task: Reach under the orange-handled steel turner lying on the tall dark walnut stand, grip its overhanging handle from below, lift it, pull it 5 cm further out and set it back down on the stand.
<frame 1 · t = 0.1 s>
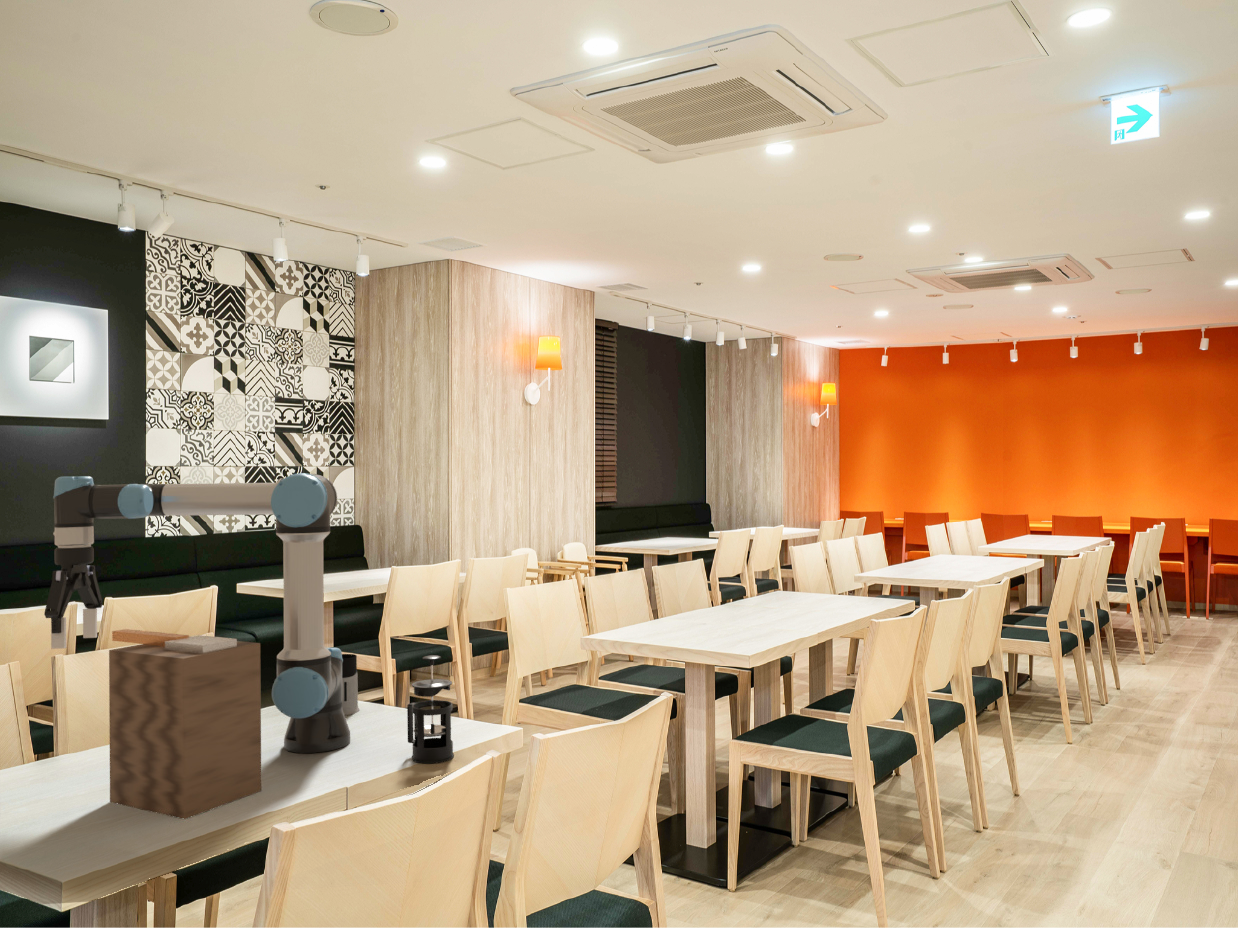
hand: (75, 642, 210), 28 cm above the table, tool pointing down, fingers open, 13 cm apart
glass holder: (340, 714, 257), on the table
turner: (156, 643, 196), point 30 cm above the table, touching walnut stand
walnut stand: (186, 796, 191), on the table
french press: (431, 758, 216), on the table
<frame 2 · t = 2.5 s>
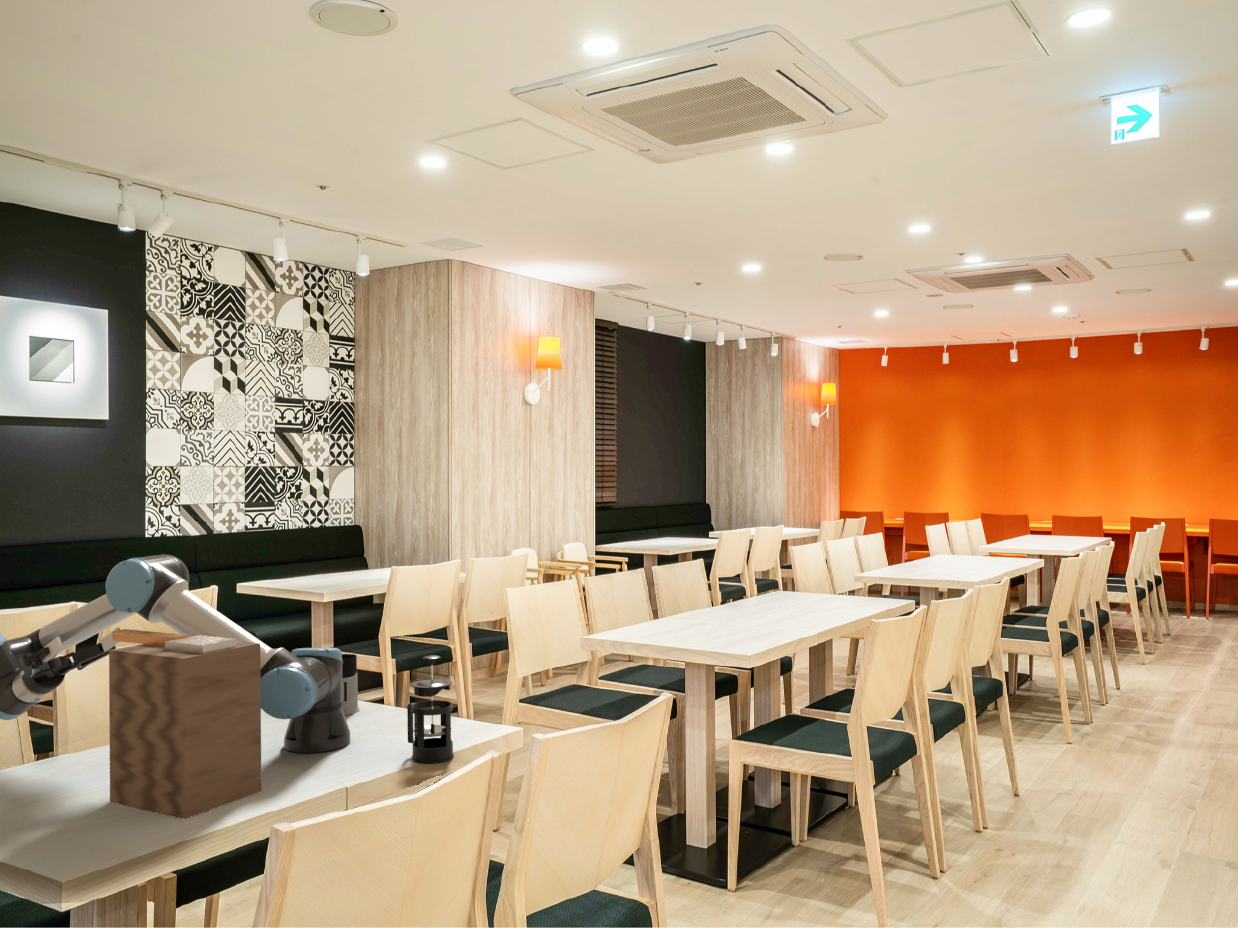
hand: (90, 637, 206), 30 cm above the table, tool pointing upward, fingers open, 13 cm apart
nothing on the table moved.
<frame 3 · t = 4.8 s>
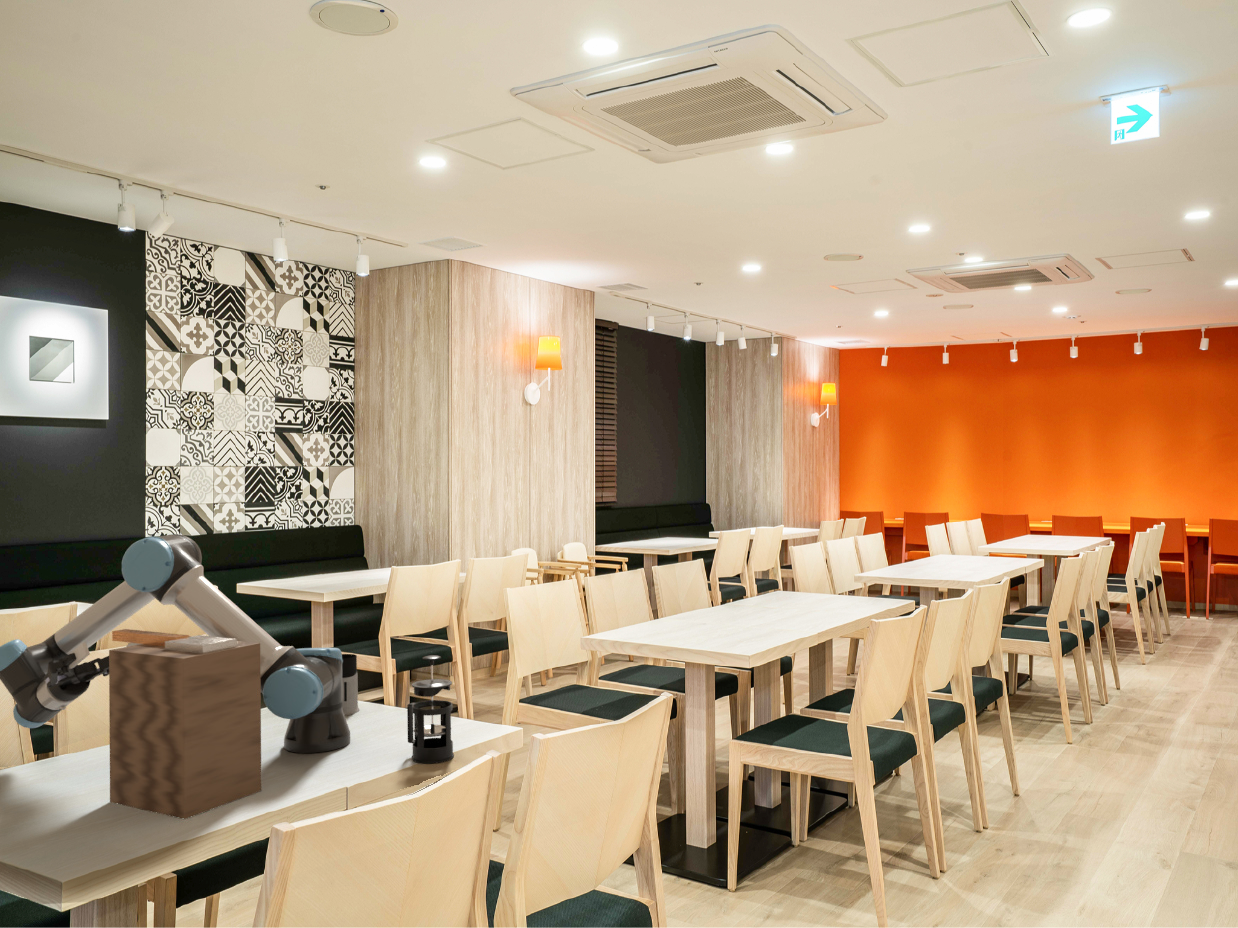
hand: (117, 642, 201), 29 cm above the table, tool pointing upward, fingers open, 13 cm apart
nothing on the table moved.
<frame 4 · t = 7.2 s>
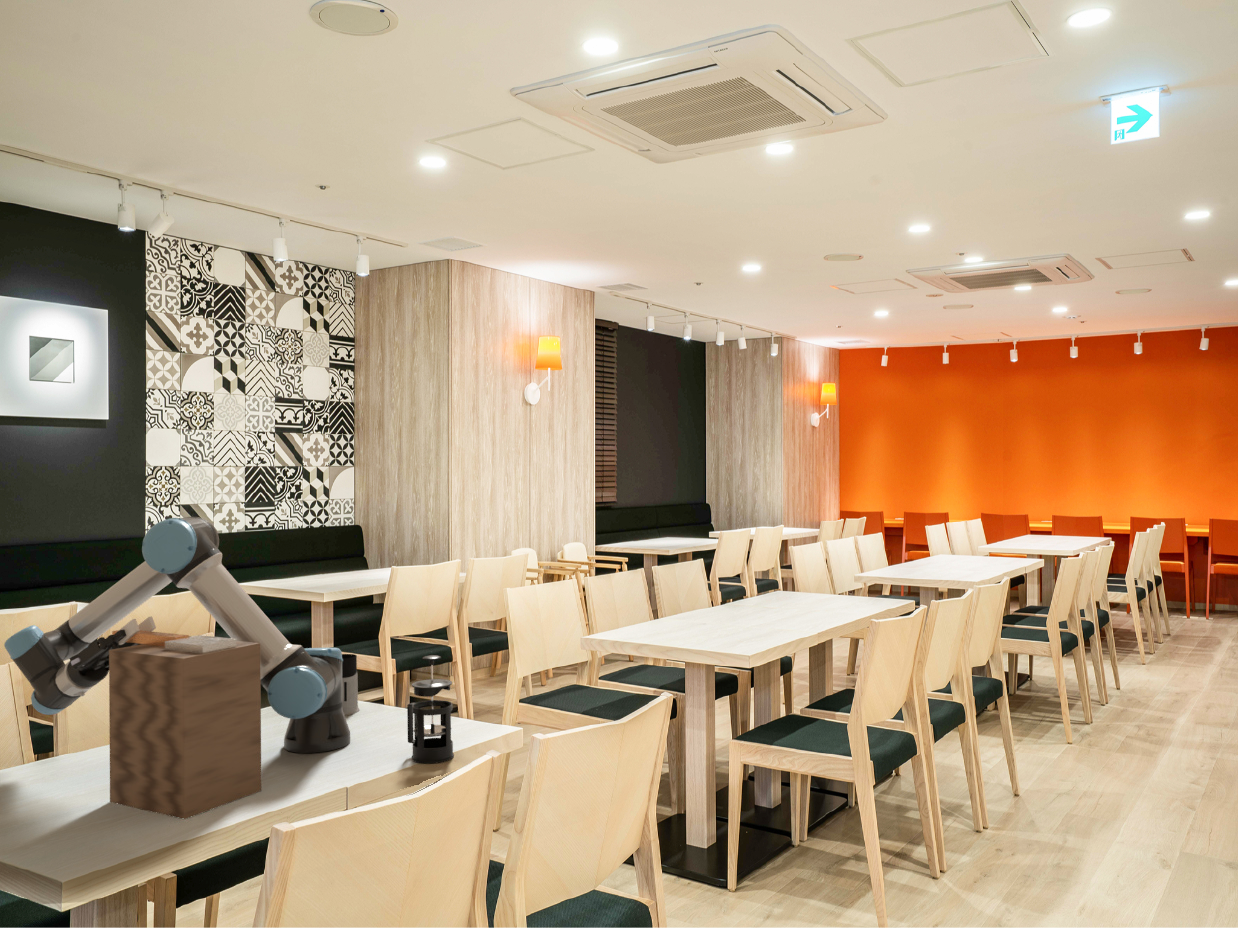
hand: (144, 623, 198), 34 cm above the table, tool pointing upward, fingers closed on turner, 3 cm apart
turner: (156, 643, 196), point 30 cm above the table, touching gripper
everything else where it was.
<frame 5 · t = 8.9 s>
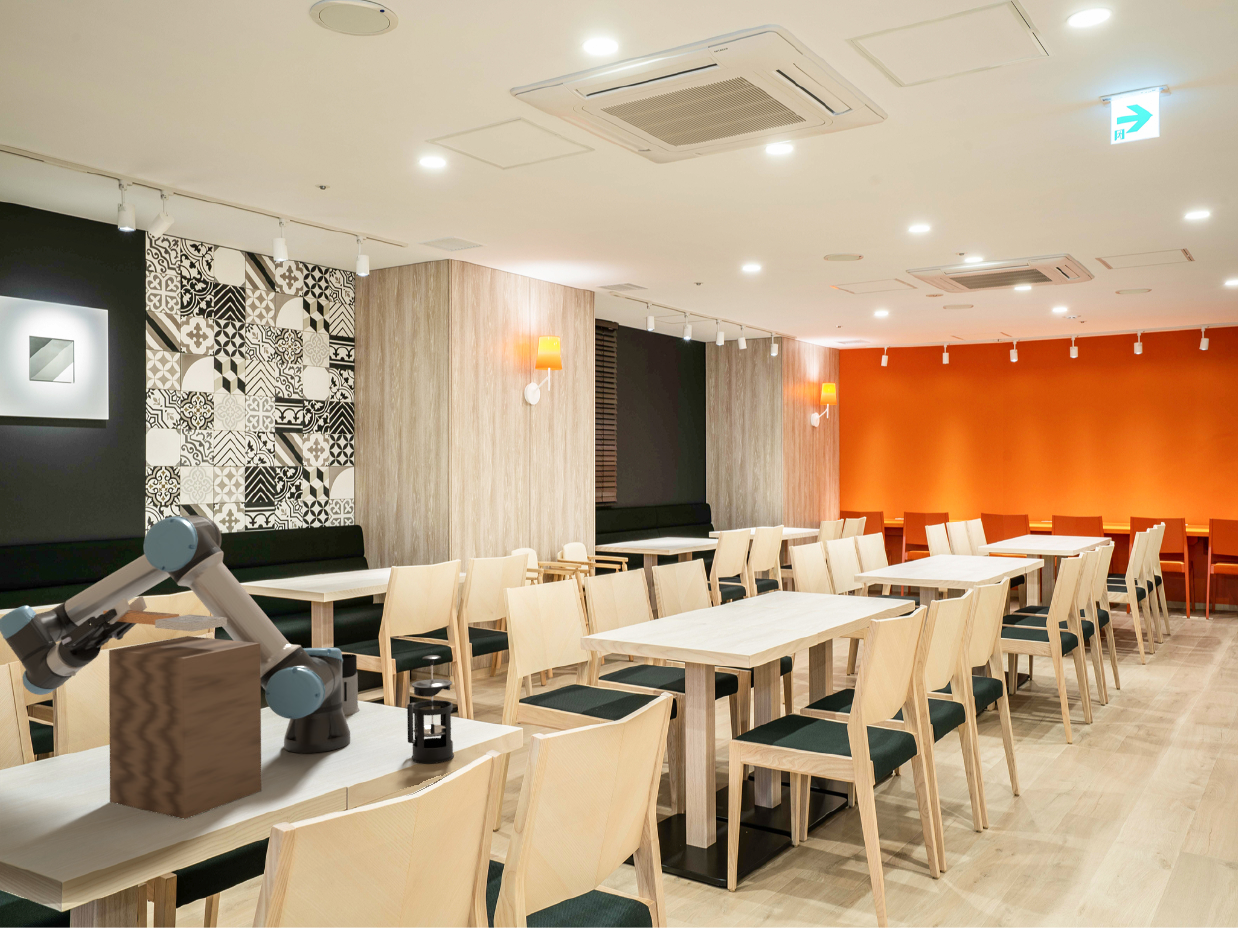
hand: (135, 603, 199), 38 cm above the table, tool pointing upward, fingers closed on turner, 3 cm apart
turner: (147, 622, 197), point 34 cm above the table, touching gripper
everything else where it was.
when the fingers open (34 cm above the table, at t = 10.6 s): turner stays where it is, resting on walnut stand.
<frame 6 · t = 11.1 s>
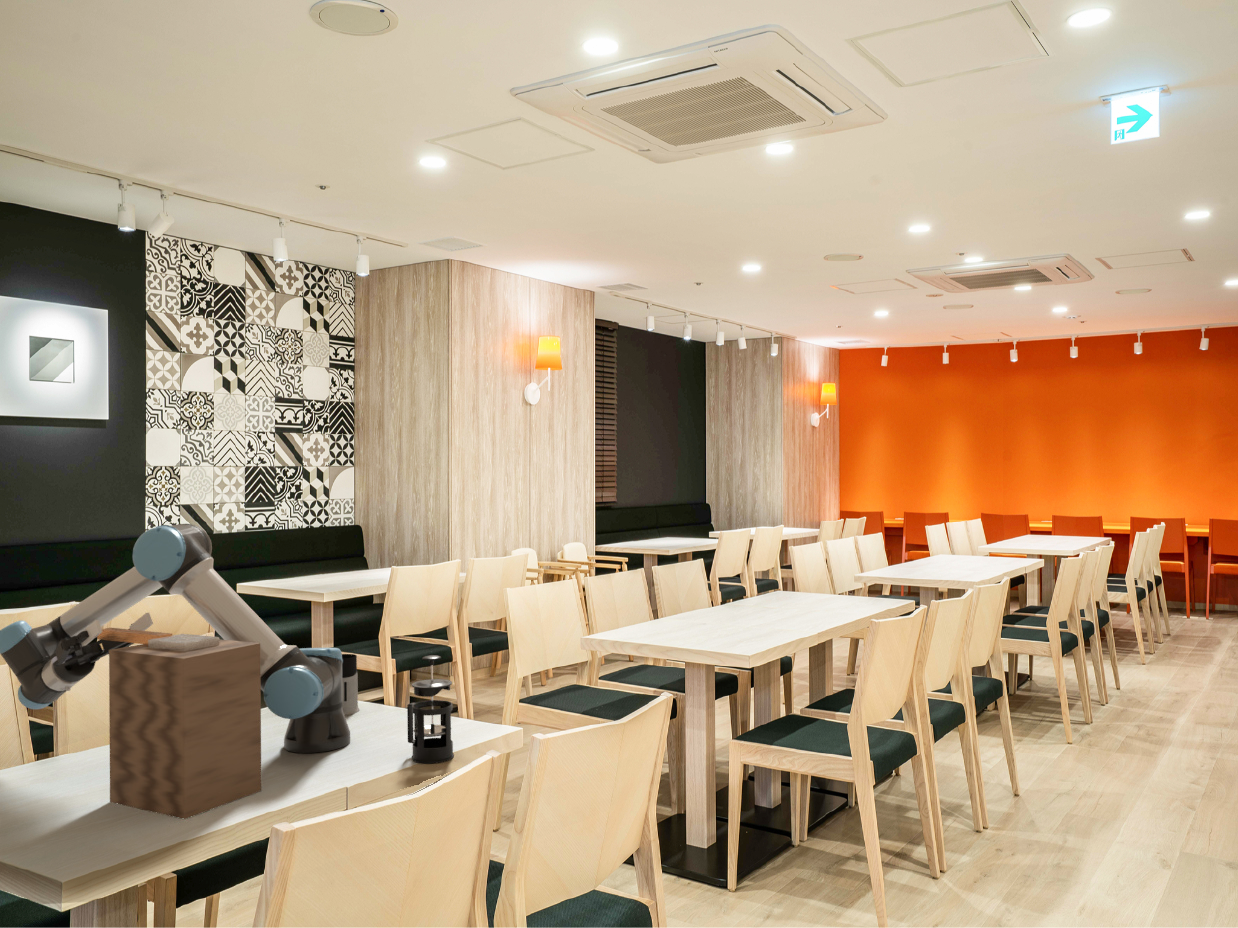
hand: (124, 622, 201), 34 cm above the table, tool pointing upward, fingers open, 11 cm apart
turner: (140, 641, 198), point 30 cm above the table, touching walnut stand
everything else where it was.
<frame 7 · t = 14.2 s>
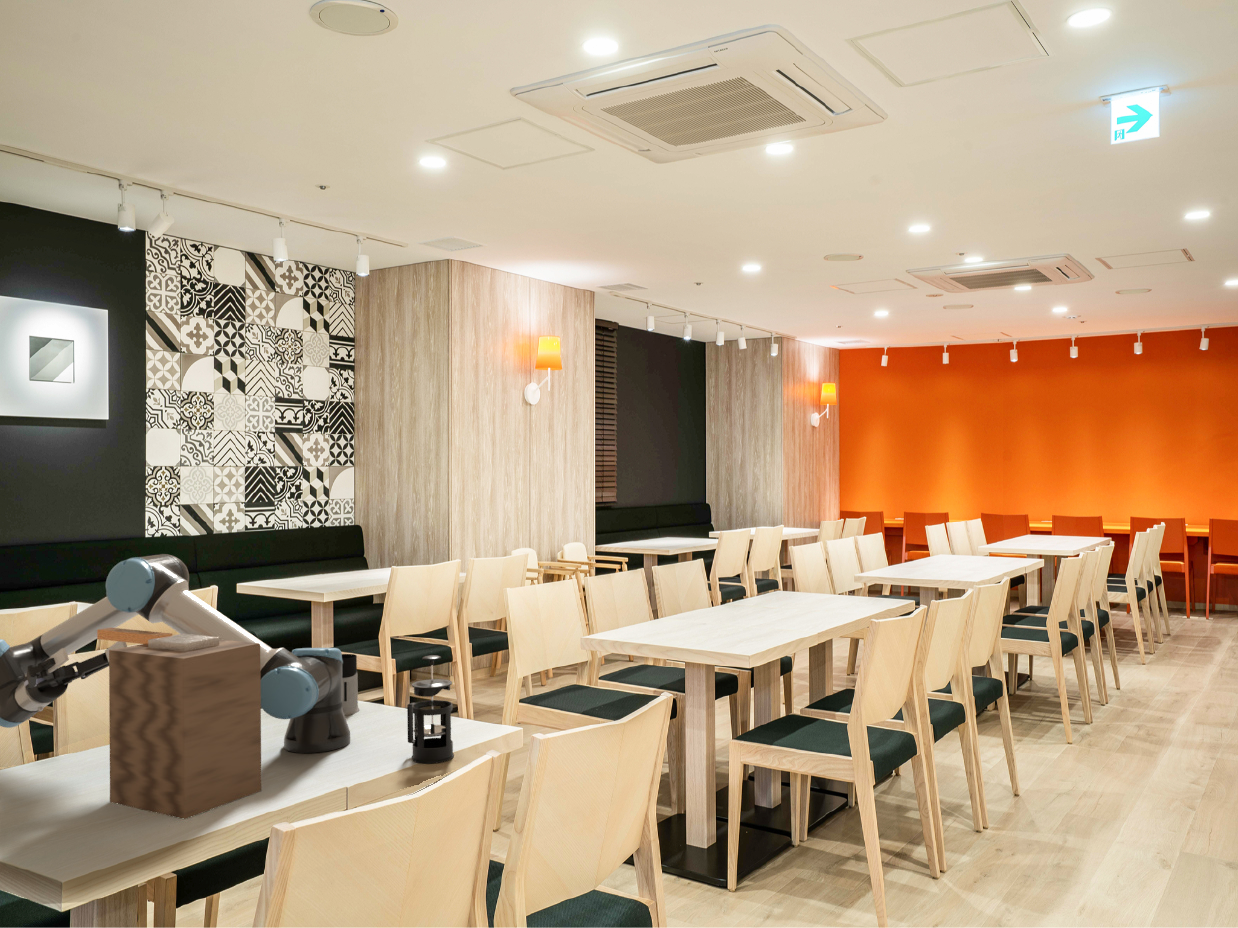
hand: (96, 648, 206), 27 cm above the table, tool pointing upward, fingers open, 13 cm apart
nothing on the table moved.
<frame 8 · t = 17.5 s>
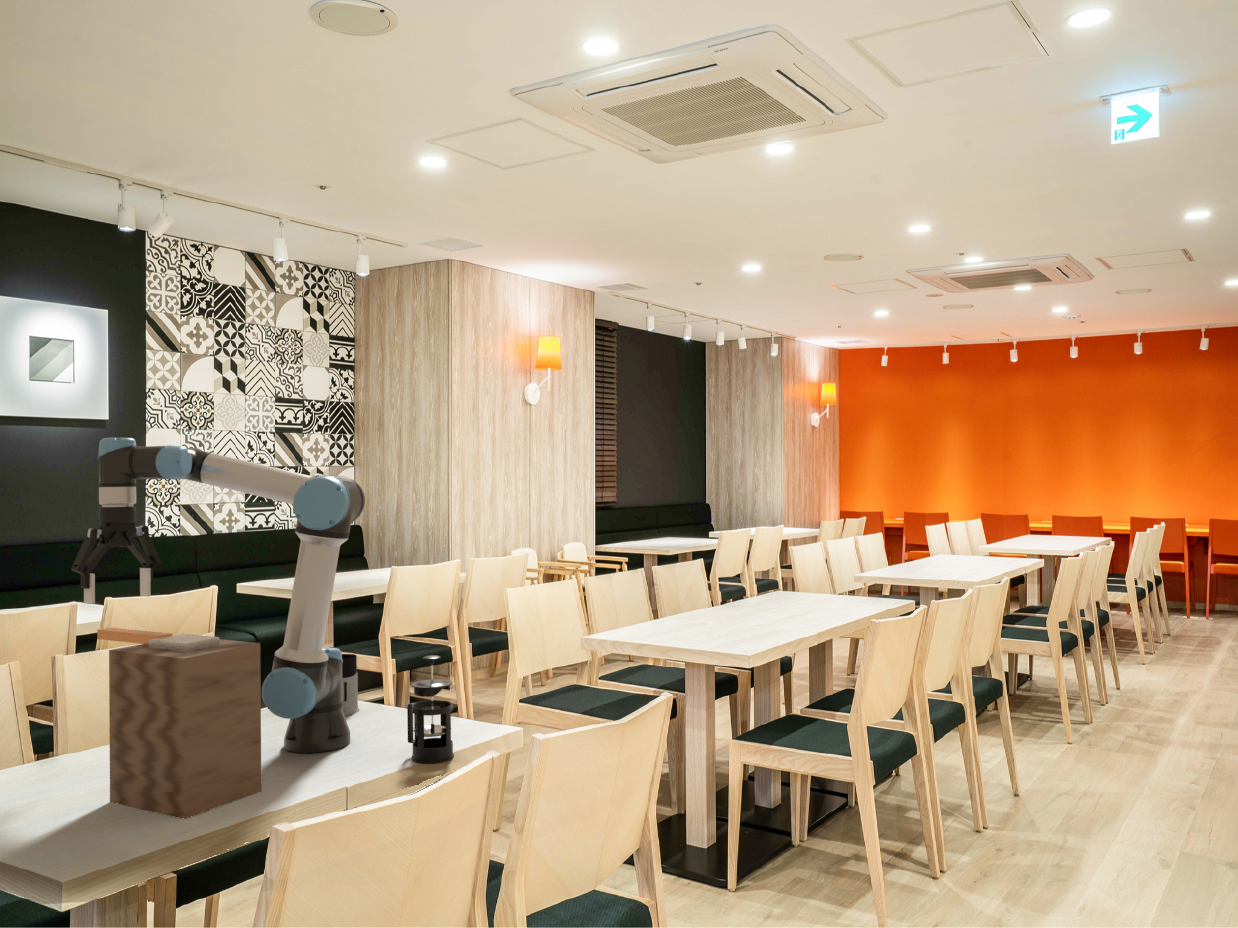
hand: (118, 599, 216), 37 cm above the table, tool pointing down, fingers open, 13 cm apart
nothing on the table moved.
at the end: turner 0.8 cm from the target spot, point 30.0 cm above the table; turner tilted 0°; the gripper is holding nothing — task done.
